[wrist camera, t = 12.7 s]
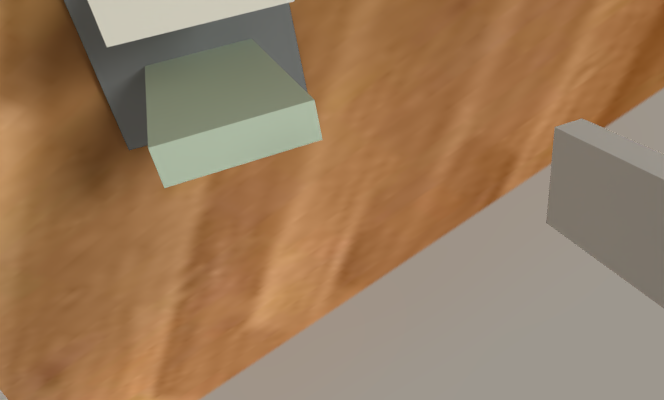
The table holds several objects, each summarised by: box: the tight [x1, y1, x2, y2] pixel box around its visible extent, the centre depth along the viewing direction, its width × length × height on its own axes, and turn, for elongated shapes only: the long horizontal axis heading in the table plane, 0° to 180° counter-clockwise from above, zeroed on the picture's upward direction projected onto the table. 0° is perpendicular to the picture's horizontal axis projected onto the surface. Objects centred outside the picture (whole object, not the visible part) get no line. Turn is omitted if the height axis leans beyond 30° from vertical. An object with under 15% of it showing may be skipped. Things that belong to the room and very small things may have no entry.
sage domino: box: [145, 39, 322, 188], centre depth 23 cm, size 2×6×12 cm, turn 100°
